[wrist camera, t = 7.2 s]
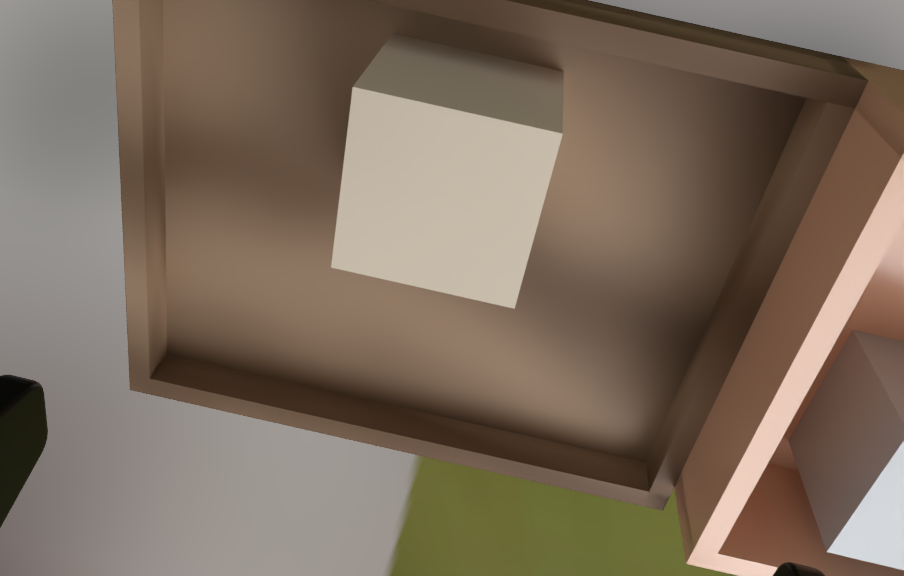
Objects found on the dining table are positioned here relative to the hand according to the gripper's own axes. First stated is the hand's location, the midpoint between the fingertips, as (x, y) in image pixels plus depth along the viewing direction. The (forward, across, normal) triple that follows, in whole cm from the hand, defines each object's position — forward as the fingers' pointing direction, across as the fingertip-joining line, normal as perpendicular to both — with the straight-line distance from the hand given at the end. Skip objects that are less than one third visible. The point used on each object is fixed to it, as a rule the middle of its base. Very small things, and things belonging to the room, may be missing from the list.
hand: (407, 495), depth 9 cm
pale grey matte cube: (+12, -12, +5) cm, 18 cm away
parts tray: (+12, +1, +3) cm, 12 cm away
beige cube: (+12, +1, 0) cm, 12 cm away
